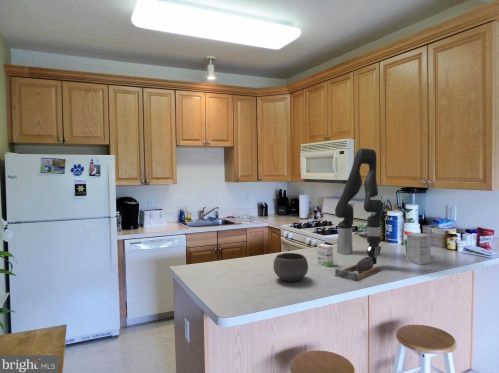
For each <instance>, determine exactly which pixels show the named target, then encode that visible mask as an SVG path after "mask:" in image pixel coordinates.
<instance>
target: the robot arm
mask: <svg viewBox="0 0 499 373" xmlns="http://www.w3.org/2000/svg"><path fill="white" fill-rule="evenodd" d="M362 165H368V168H369V169H368V173H367V175H366V177H365V178H364V182H363V178H362V175H361V166H362ZM362 184H364V185H363V186H364V194H365V195H364V196H365V197H364V202H363V209H364V211H365V213H374V214H373V215H370V216H368V217H367V219H366V220H367V221H366V224H367V225H366V226H367V227H366V242H367V244H368V249H366V253H367V256H368V257H369V256H371V257H373V265H377V258H378V257H379V255H380V253H381V249H382V246H380V244H381V242H382V236H381V235H382V234H381V233H382V231H381V230H382V229H381V219H382V218H381V217H382V214H383V211H384V203H383V201H382V200H381V199H371V198H375V197H377V196H378V195H379V190H378V185H377V153H376V151H375V149H373V148H372V149H371V148H359V149H357V151H356V153H355V155H354V160H353V163H352V167H351V170H350V173H349V175H348V178H347V180H346V183H345V186H344V189H343V191H342V193H341V196H340V198H339V200H338V202H337V204H336V206H335V208H334V212H335V216H336V217H337V218H338V219H339V218H340V219H343V220H341V221H339V223H338V224H337V233H338V234H337V235H338V237H337V238H336V249H337V250H336V252H337V253H339V254H340V255H351V254H353V224H354V211H355V210H354V207H353V205H352V204H351V203H350V201H351V200H353V198H355V197H356V195H357V194H358V193H360V190H361V188H362Z"/></svg>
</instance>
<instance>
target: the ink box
mask: <svg viewBox="0 0 499 373" xmlns="http://www.w3.org/2000/svg"><path fill="white" fill-rule="evenodd" d="M316 246H317V248H316V249H317V250H316V251H317V264H318V263H319V264H318V265H321V264H322V265H321V266H324V265H325V267H331V266H334V255H333V254H334V250H333V248H334V247H333V245H330V244H326V243H320V244H319V243H318V244H317V245H316Z"/></svg>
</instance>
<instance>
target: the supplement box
mask: <svg viewBox="0 0 499 373" xmlns="http://www.w3.org/2000/svg"><path fill="white" fill-rule="evenodd" d="M406 239H407V254H406V260H407V261H406V262H409V263H412V264H416V265H419V266H420V265H425V264H431V257H432V256H431V253H432V252H431V234H427V233H423V232H422V233H421V232H413V233H407V234H406Z"/></svg>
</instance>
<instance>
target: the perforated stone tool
mask: <svg viewBox="0 0 499 373" xmlns="http://www.w3.org/2000/svg"><path fill="white" fill-rule="evenodd" d="M356 264H357V265H356ZM356 264H355V265H356V271H357V272H358V273H363V272H365V271H368V270H370V269H372V268H374V264H373V257H371V256H369V255H368V256H366V257H363V258H361V259H359V260H358V262H357V263H356Z"/></svg>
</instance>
